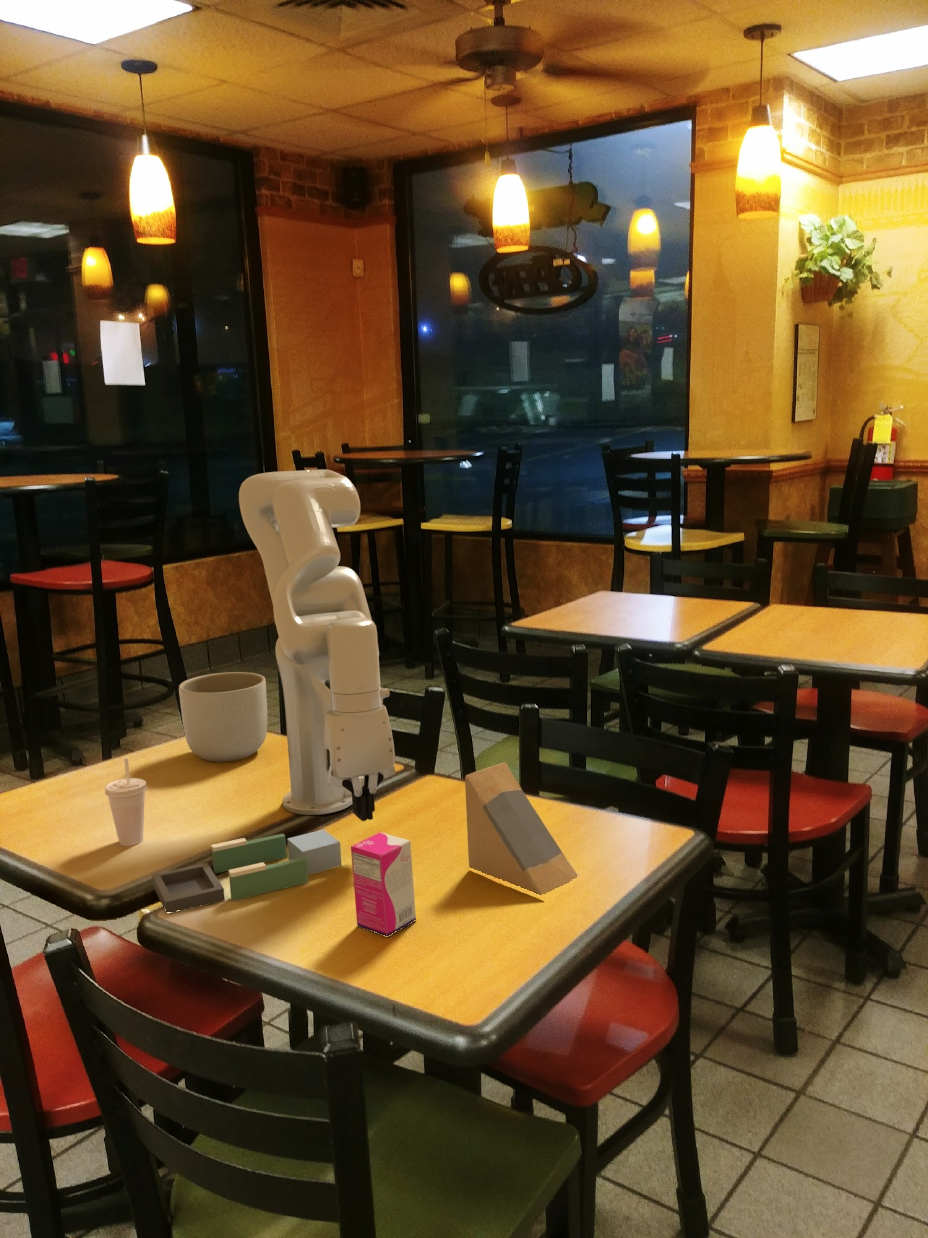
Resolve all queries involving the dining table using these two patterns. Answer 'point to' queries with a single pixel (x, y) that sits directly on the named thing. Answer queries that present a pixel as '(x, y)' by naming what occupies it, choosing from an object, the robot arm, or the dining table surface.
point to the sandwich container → (511, 834)
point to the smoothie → (127, 807)
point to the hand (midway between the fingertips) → (364, 817)
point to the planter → (224, 714)
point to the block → (316, 850)
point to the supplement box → (383, 883)
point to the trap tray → (188, 887)
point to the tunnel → (258, 866)
